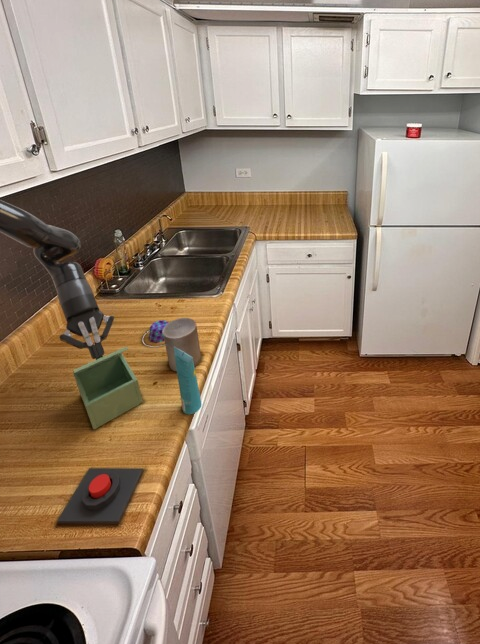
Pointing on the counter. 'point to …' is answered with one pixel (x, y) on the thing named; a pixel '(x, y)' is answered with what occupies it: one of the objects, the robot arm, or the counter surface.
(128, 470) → the button block
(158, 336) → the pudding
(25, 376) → the counter surface
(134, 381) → the breadbin
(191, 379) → the tube
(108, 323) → the robot arm
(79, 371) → the lid
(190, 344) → the pillar candle
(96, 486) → the button
